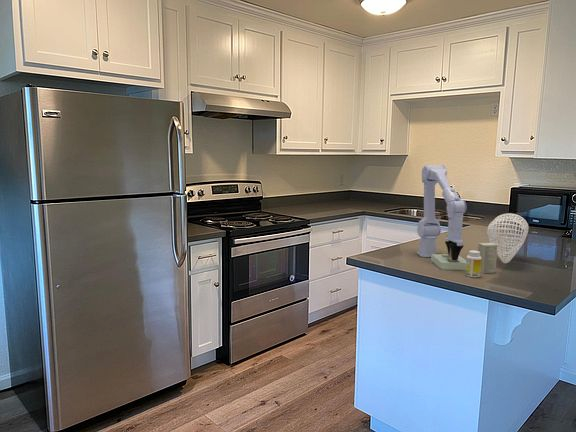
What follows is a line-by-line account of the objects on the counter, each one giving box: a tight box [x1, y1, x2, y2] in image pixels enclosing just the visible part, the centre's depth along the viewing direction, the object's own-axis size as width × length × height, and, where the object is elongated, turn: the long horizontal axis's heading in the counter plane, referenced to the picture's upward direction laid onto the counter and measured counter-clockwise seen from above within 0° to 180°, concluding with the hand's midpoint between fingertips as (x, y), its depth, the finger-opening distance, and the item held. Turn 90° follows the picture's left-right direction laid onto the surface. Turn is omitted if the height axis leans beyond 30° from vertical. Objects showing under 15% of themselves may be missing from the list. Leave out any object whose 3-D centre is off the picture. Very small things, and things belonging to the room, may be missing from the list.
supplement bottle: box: [465, 249, 482, 278], centre depth 174 cm, size 6×6×10 cm
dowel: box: [449, 248, 456, 262], centre depth 187 cm, size 3×3×9 cm
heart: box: [486, 212, 530, 264], centre depth 195 cm, size 28×16×22 cm, turn 148°
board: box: [430, 253, 467, 271], centre depth 192 cm, size 16×12×3 cm
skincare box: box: [477, 242, 498, 274], centre depth 181 cm, size 6×4×12 cm
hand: (453, 258), depth 187 cm, fingers open, 4 cm apart
